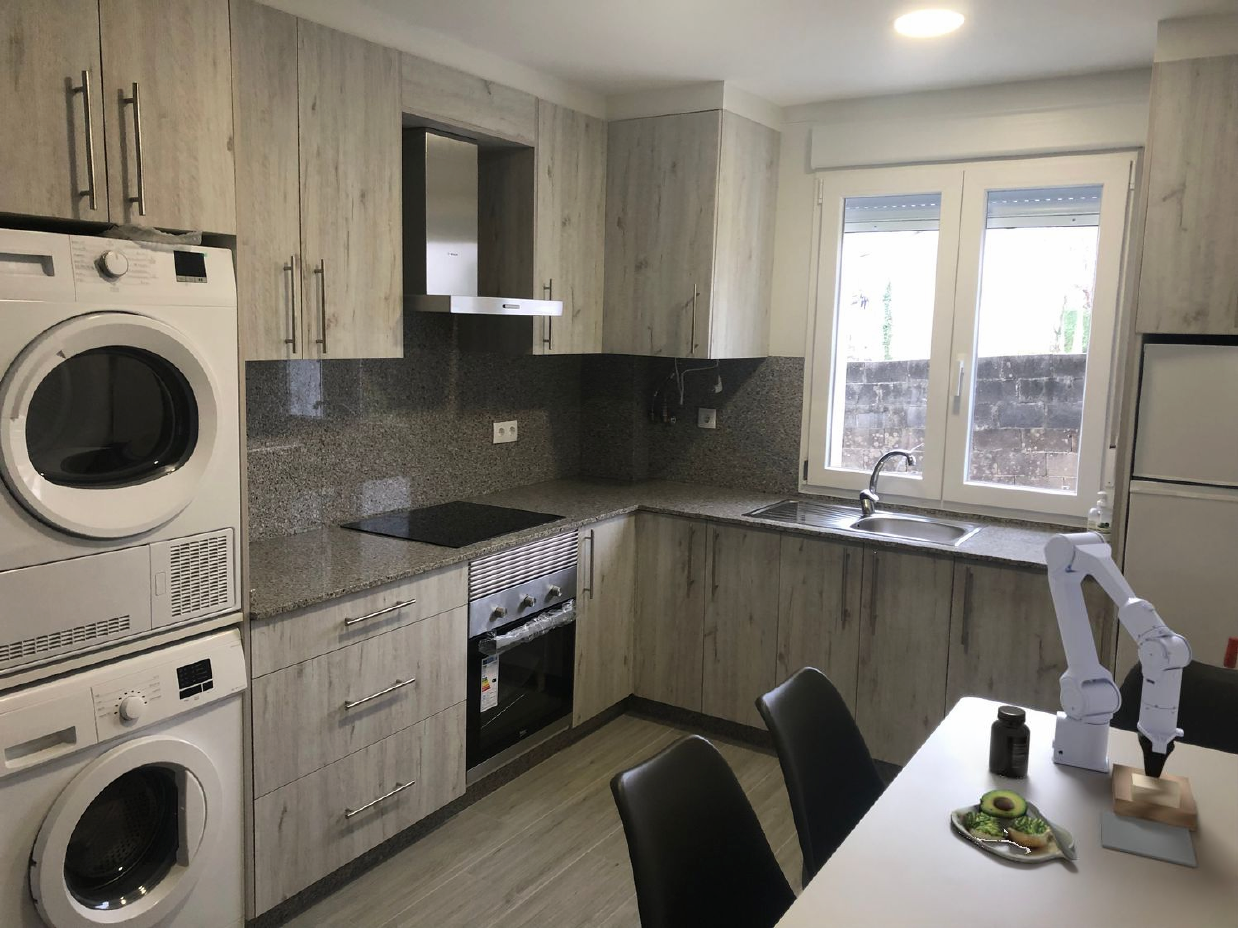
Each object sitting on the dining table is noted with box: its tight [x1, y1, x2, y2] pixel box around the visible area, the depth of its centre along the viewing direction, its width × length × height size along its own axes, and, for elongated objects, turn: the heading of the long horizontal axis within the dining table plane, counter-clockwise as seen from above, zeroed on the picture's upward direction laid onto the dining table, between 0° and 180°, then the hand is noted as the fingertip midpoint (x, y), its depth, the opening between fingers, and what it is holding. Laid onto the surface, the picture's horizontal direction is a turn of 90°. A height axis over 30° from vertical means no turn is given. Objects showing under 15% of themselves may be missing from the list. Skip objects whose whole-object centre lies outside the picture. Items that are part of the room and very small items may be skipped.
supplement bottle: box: [988, 705, 1031, 780], centre depth 178 cm, size 7×7×12 cm
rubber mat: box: [1100, 810, 1197, 868], centre depth 155 cm, size 13×12×1 cm
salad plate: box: [950, 789, 1078, 864], centre depth 155 cm, size 19×18×5 cm
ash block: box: [1131, 773, 1181, 808], centre depth 163 cm, size 7×5×2 cm
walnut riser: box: [1111, 763, 1198, 832], centre depth 167 cm, size 12×15×3 cm
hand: (1152, 775), depth 170 cm, fingers closed
